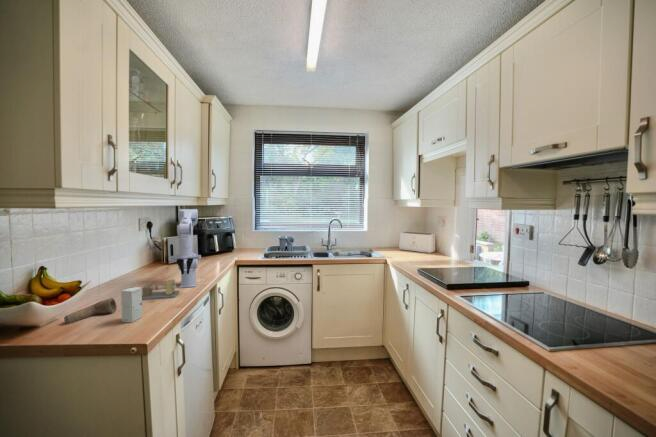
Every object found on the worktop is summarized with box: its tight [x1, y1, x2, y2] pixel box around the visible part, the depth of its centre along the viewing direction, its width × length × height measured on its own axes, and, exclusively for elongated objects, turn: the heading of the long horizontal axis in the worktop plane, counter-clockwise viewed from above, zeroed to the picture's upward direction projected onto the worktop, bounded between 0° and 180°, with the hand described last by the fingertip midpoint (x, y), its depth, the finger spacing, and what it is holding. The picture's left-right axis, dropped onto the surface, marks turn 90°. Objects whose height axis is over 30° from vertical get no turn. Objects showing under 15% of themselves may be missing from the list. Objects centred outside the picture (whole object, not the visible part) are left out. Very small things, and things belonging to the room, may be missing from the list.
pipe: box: [63, 297, 117, 325], centre depth 116 cm, size 6×17×10 cm
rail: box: [142, 284, 180, 301], centre depth 143 cm, size 15×10×5 cm, turn 105°
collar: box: [165, 278, 176, 295], centre depth 145 cm, size 2×6×6 cm, turn 15°
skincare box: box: [120, 286, 143, 323], centre depth 113 cm, size 6×4×12 cm
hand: (185, 273), depth 146 cm, fingers closed
